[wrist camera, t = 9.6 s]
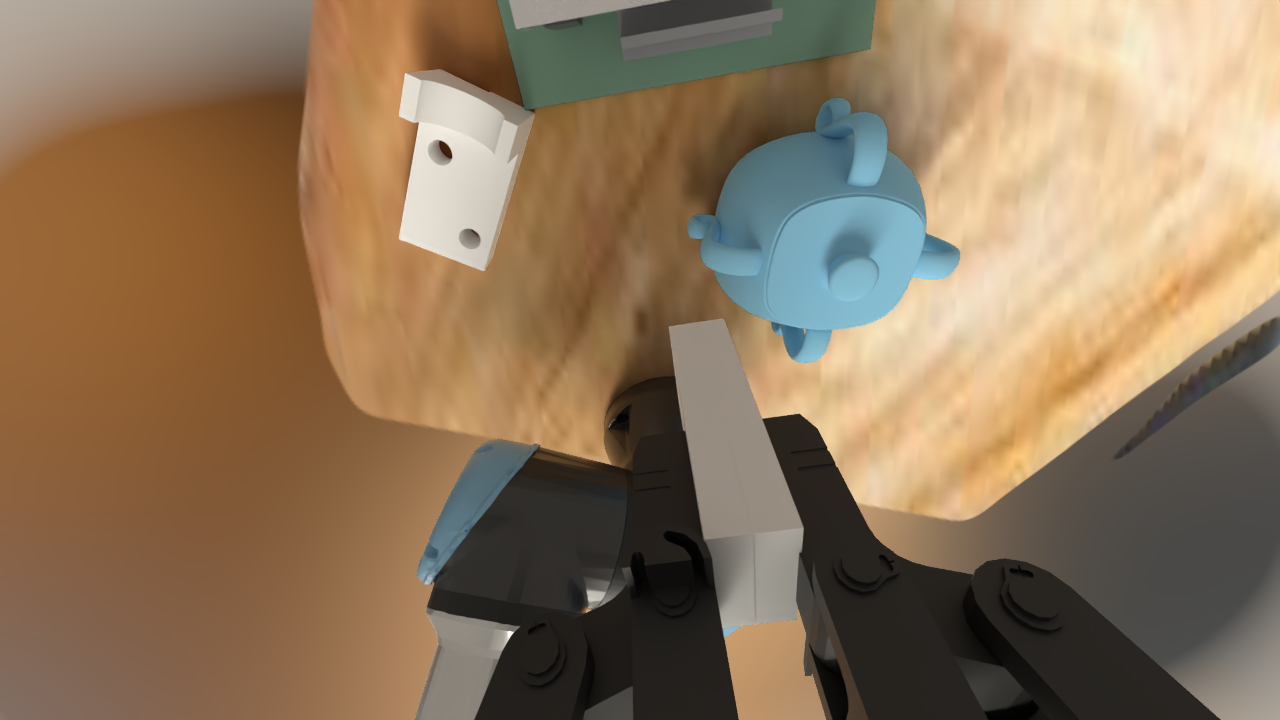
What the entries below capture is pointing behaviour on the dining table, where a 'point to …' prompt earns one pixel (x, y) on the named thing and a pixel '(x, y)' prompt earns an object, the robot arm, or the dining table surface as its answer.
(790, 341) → the decorative pot
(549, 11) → the strap
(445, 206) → the bracket
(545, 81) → the heatsink board
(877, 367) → the dining table surface
